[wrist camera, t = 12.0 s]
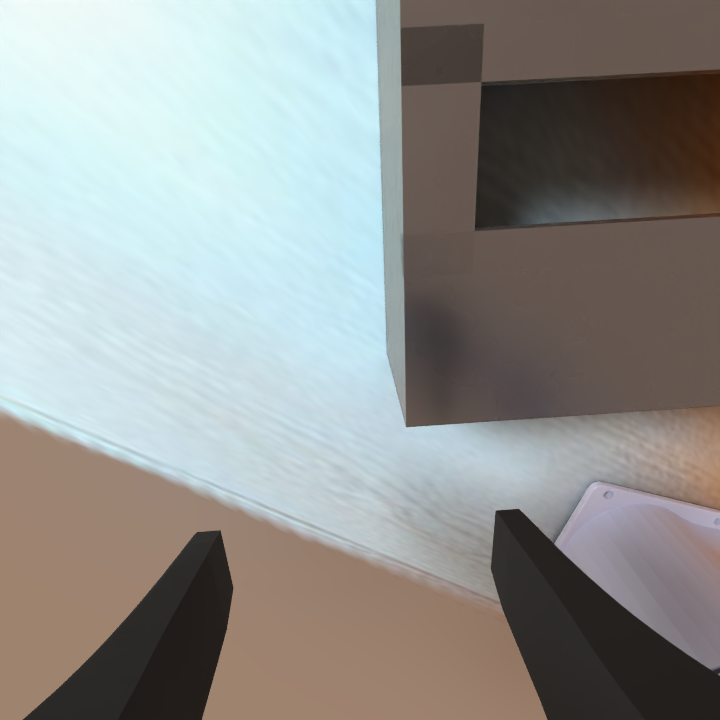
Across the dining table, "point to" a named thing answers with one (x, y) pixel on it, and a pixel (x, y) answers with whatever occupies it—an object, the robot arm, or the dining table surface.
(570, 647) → the robot arm
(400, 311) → the housing
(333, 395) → the dining table surface
